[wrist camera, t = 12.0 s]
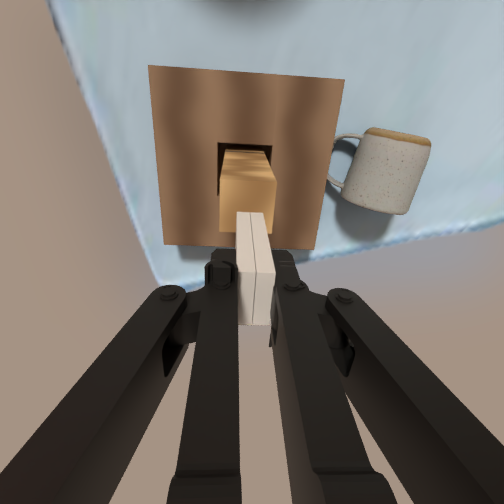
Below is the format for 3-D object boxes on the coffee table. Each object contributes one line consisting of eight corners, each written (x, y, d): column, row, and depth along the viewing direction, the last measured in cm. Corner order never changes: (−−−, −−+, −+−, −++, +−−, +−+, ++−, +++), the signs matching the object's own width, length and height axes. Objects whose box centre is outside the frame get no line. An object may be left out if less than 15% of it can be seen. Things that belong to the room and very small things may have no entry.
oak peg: (261, 146, 34) (277, 181, 21) (259, 181, 36) (271, 233, 23) (226, 144, 34) (219, 179, 21) (225, 179, 36) (219, 231, 23)
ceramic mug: (414, 133, 35) (455, 143, 28) (388, 199, 39) (418, 222, 32) (328, 117, 34) (349, 123, 27) (309, 186, 38) (324, 207, 31)
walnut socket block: (330, 80, 32) (344, 79, 28) (305, 232, 41) (313, 249, 36) (160, 68, 31) (147, 64, 26) (172, 227, 39) (164, 244, 35)
